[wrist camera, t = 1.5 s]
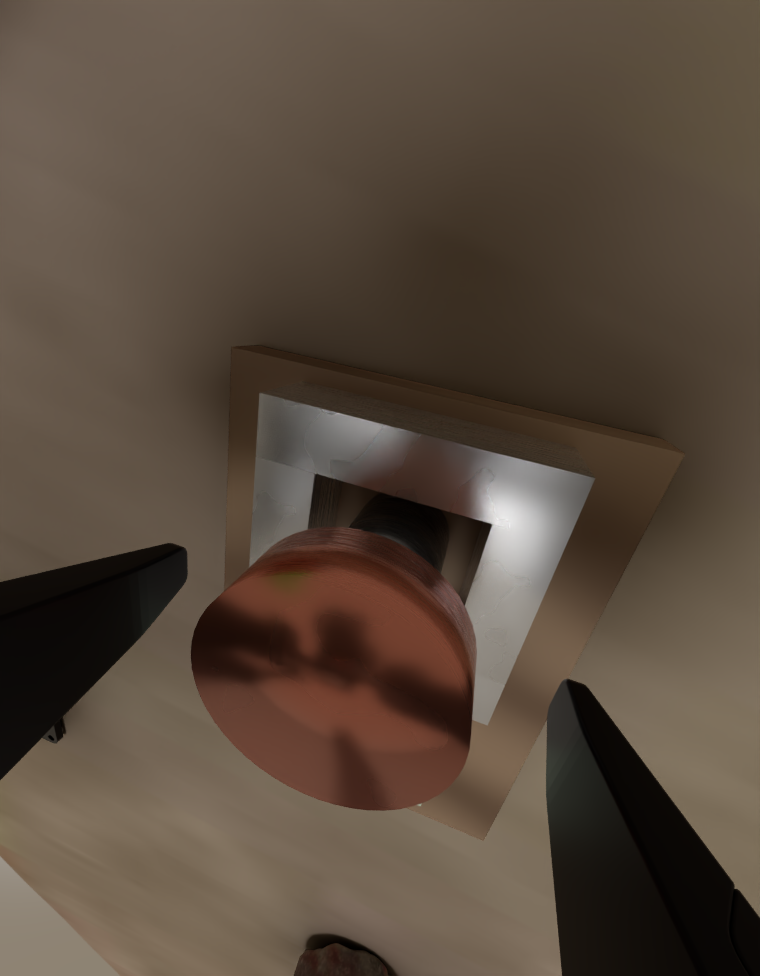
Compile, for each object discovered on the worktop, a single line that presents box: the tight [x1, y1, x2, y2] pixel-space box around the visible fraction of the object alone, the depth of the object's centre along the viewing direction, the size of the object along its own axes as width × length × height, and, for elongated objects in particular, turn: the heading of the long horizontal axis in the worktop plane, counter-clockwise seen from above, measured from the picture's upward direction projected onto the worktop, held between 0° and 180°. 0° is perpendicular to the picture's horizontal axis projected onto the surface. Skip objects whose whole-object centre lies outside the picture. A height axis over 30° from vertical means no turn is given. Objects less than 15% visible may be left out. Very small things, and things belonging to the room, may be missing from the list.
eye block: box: [249, 381, 595, 726], centre depth 12 cm, size 8×8×2 cm
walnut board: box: [224, 345, 685, 841], centre depth 16 cm, size 18×13×2 cm
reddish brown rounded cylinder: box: [191, 492, 477, 810], centre depth 10 cm, size 5×5×7 cm
